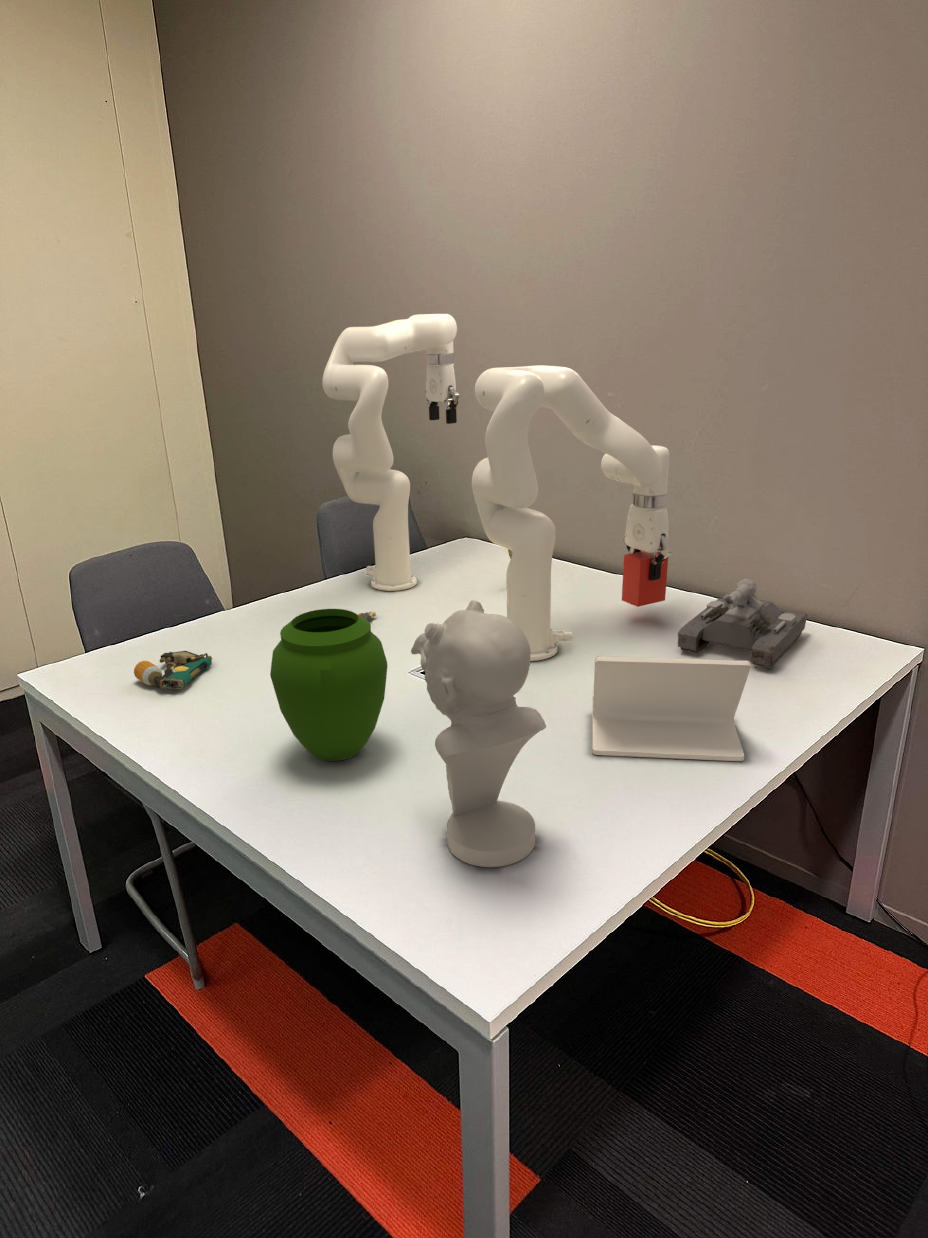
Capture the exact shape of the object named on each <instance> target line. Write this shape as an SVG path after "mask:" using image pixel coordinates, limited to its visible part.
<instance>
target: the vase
mask: <svg viewBox="0 0 928 1238" xmlns="http://www.w3.org/2000/svg"><path fill="white" fill-rule="evenodd" d="M371 625H372V624H371V623H370V620H369V621H367V620H366V619H365V618H363V617H361V616H359V615H358V614H357V613H356V612H354V611H352V610H348V609H343V608H321V609H315V610H310V611H307V612H304V613H301V614H299V615H297V616H295V617H293V618H292V619H291V620H290V621H289V622H288V623H287V624H285V625H284V626H283V627H282V628H281V629H280V631H279V635H280V641H279V642H278V643H277V645H276V646H275V647H274V649H273V650H272V655H271V663H270V672H269V676H270V679H271V683H272V686H273V690H274V693H275V696H276V700H277V703H278V707H279V710H280V712H281V714H282V716H283V718H284V720H285V722H286V724H287V725H288V728H289V729H290V731H291V733H292V735H293V736H294V737H295V739H296V740H297V741H298V742H299V744H300V745H301V746H302V747H303V748H304V750H306V751H307V752H308V753H309V754H311V755H312V756H313V757H315V758H316V759H319V760H321V761H327V762H339V761H345V760H347V759H350V758H352V757H354V756H357V755H358V754H359V753H360V752H361V750H363V748H364V747H365V746H366V744H367V743H368V741H369V740H370V738H371V736H372V734H373V732H374V730H375V729H376V726H377V725H378V720H379V717H380V714H381V711H382V707H383V704H384V701H385V697H386V686H387V678H388V677H387V675H388V660H387V657H386V654H385V650H384V646H383V644H382V641H381V639H380V638H379V637H378V636H377V635H375V633H374V632H372V629H371V628H372V626H371Z"/></svg>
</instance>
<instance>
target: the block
mask: <svg viewBox="0 0 928 1238" xmlns="http://www.w3.org/2000/svg"><path fill="white" fill-rule="evenodd" d="M655 554H656V557H657V556H658V554H657V553H655ZM650 564H652V561H651V556H650V553H648V552H645V551H641V552H636V553H631V554H629V553H627V554H624V555H623V568H622V586H621V601H622V602H625V603H627V604H629V605H632V606H635V607H637V608H639V607H643V606H644V607H645V606H647V605H652V604H657V603H660V602H664V601H666V595H667V593H666V592H667V580H668V567H669V556H668V557H667V558H666V559H665V560H664V562H663V563H662V564H661V578H660V579H657V580H653V581H651V580H649V568H650Z"/></svg>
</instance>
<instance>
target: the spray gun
mask: <svg viewBox="0 0 928 1238" xmlns="http://www.w3.org/2000/svg"><path fill="white" fill-rule="evenodd" d="M212 660H213V657H212V656H211V655H208V653H207V652H205V653H201V654H197V653H194V652H192V651H191V652H190V651H188V650H180V651H169V652H164V653H162V654H161V655H160V658H159V660H158V662H159V663H161V664H163V663H165V664H166V668H165V670H163V672H164V674H163V673H162V669H160V668H159V666H157V665H156V664H154V663H152V662H151V661H149V660H141V661H139V662H138V663H136V665H135V666H134V668H133V675H134V677H135V678H136V679H137V680H139V681H140V682H142V683H143V684H145V685H147V686H155V685H157V686H158V687H160V688H161V689H171V690H172V689H173V690H182V689H184V687H185V686H186V685H188V684H189V683H190V682H191V681H192V679H193V678H195V677H196V676H197V675H198V674H200V673H201V672H202V671H203V670H206V669H208V668H209V667H210V666H211V665H212V662H213V661H212ZM178 663H179V664H181V665H179V666H176V665H177V664H178Z"/></svg>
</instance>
